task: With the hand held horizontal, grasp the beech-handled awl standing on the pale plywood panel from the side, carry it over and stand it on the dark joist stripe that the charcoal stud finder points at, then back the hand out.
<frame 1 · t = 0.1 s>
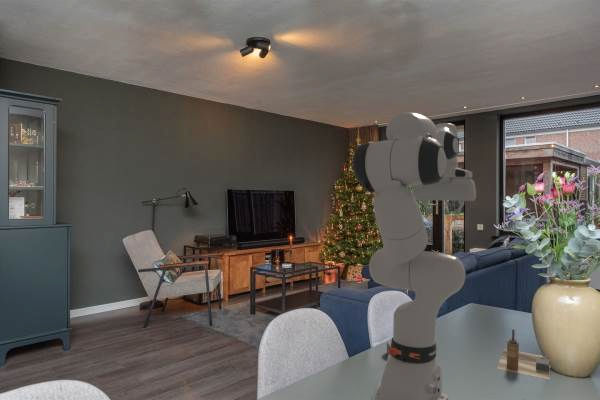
hand: (442, 214, 142), 48 cm above the table, tool pointing down, fingers open, 8 cm apart
stud finder: (542, 367, 132), point 1 cm above the table, touching subfloor panel
usb wall charger: (398, 355, 143), on the table
subfloor panel: (524, 365, 135), on the table
awl: (512, 368, 131), point 1 cm above the table, touching subfloor panel
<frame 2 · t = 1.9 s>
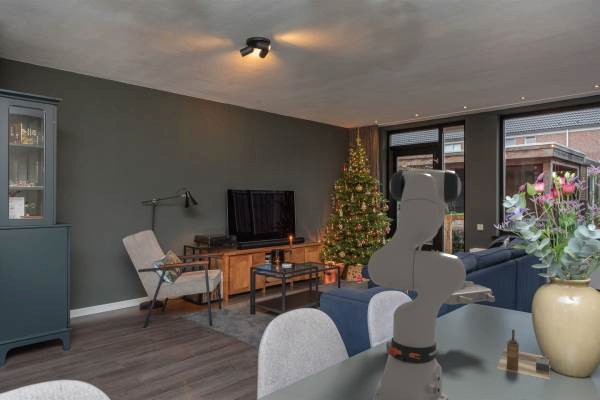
hand: (482, 300, 142), 19 cm above the table, tool horizontal, fingers open, 8 cm apart
nothing on the table moved.
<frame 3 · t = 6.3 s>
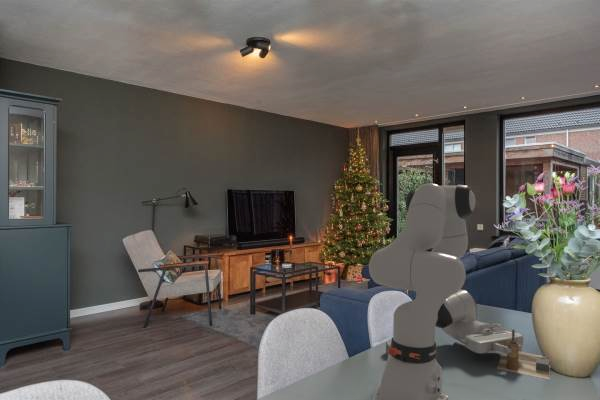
hand: (515, 349, 130), 7 cm above the table, tool horizontal, fingers closed on awl, 3 cm apart
awl: (512, 368, 131), point 1 cm above the table, touching gripper, subfloor panel
everything else where it was.
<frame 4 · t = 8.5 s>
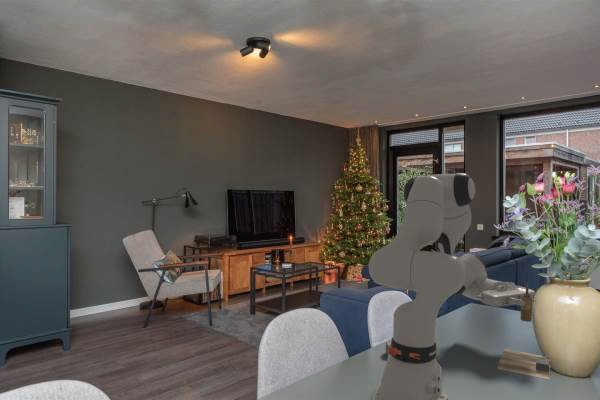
hand: (529, 302, 139), 19 cm above the table, tool horizontal, fingers closed on awl, 3 cm apart
awl: (526, 320, 140), point 13 cm above the table, touching gripper
everything else where it was.
when the fingers open (8 cm above the table, at t = 10.9 s): awl drops 1 cm, resting on subfloor panel.
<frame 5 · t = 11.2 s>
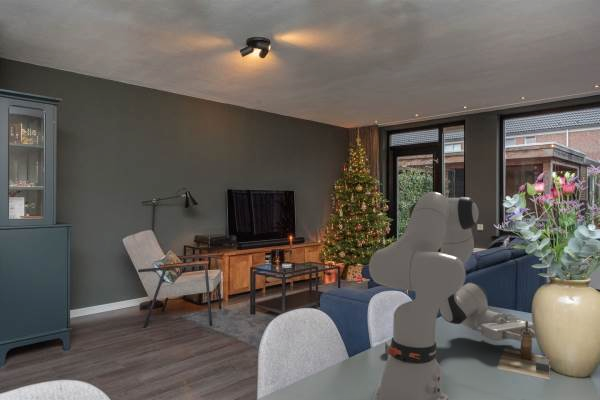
hand: (528, 337, 139), 8 cm above the table, tool horizontal, fingers open, 6 cm apart
awl: (525, 357, 140), point 1 cm above the table, touching subfloor panel
everything else where it was.
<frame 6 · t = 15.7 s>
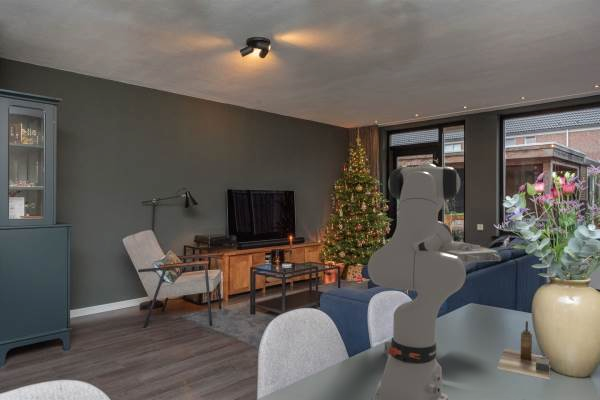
hand: (489, 259, 149), 32 cm above the table, tool horizontal, fingers open, 8 cm apart
nothing on the table moved.
at the end: awl inside the target area on the subfloor panel (1.1 cm from its centre), point 1.1 cm above the subfloor panel's base; awl tilted 0°; the gripper is holding nothing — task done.
